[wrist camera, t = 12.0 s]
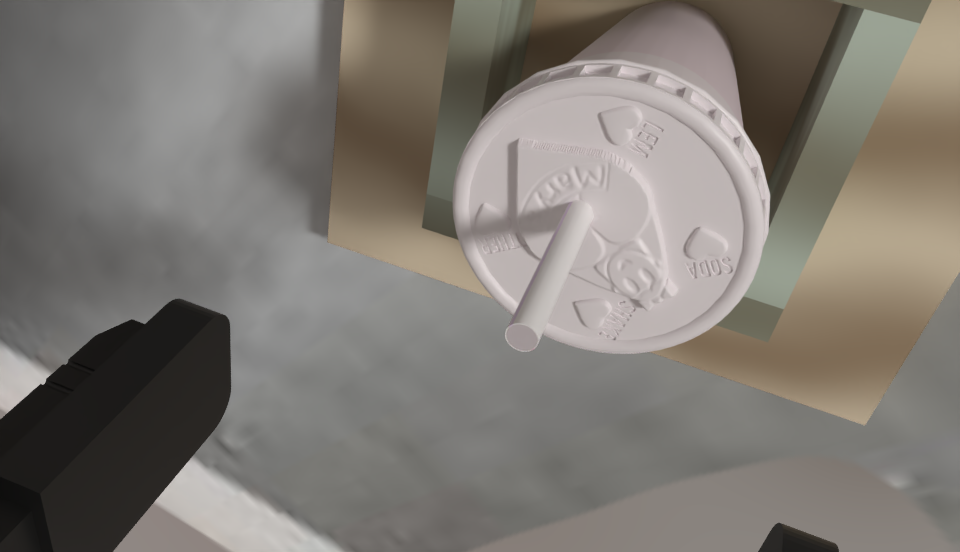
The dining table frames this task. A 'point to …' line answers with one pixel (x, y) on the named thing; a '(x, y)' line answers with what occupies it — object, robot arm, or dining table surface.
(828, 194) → the collar stand
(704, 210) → the smoothie
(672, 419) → the dining table surface
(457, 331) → the dining table surface
